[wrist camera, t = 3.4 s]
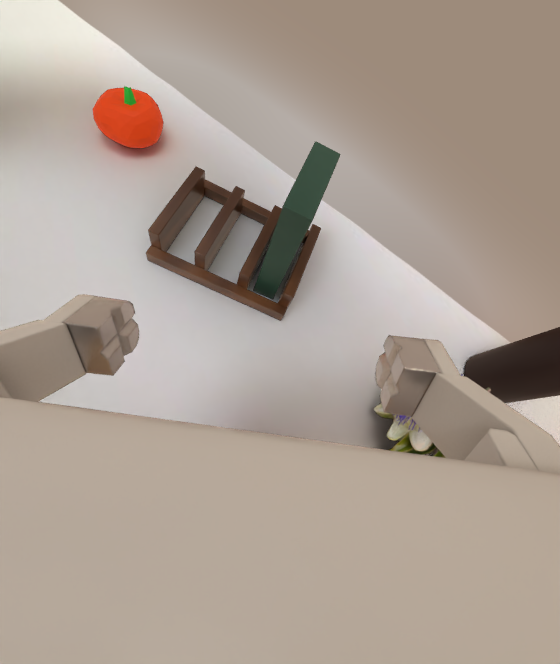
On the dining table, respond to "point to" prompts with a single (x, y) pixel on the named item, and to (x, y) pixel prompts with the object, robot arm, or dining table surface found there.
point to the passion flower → (409, 434)
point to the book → (296, 217)
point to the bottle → (520, 368)
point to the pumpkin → (128, 117)
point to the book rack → (210, 245)
